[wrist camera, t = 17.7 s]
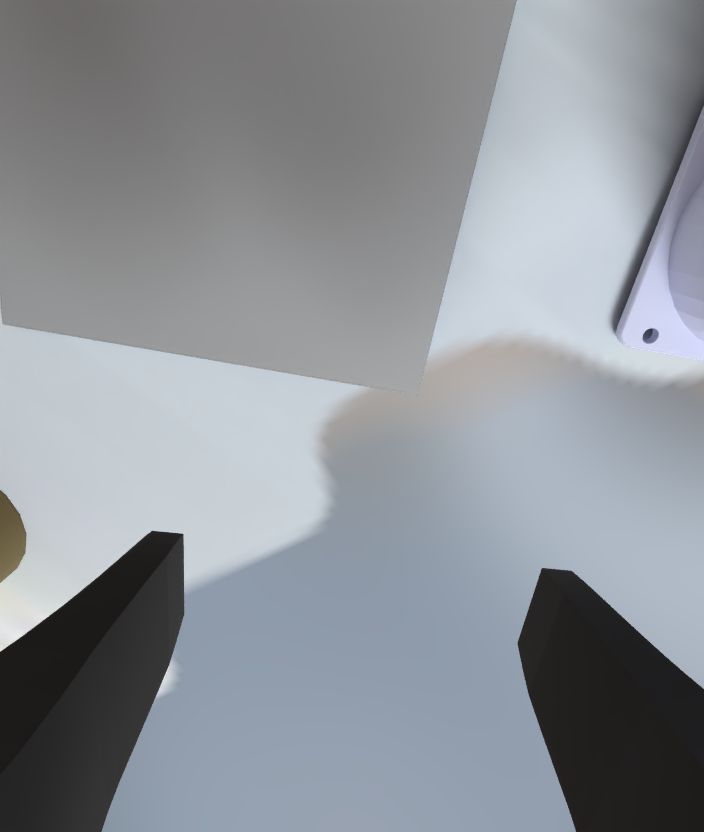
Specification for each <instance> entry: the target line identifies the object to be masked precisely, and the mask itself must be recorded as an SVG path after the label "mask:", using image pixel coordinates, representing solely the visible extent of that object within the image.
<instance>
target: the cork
mask: <svg viewBox="0 0 704 832" xmlns="http://www.w3.org/2000/svg"><path fill="white" fill-rule="evenodd" d="M25 547H26V532H25V529H24V526H23V523H22V520H21V517H20V515H19V513H18V512H17V510H16V509H15V508H14V506H13V505H12V503H11V502H10V501H9V499H8V498H7V497H6V495H5V494H3V493H2V492H1V491H0V583H1V582H2V581H3V580H4V579H5V578H6V577H7V576H9V575H10V574H11V573H12V572H13V571H14V570H15V569H17V567H18V565H19V563H20V562H21V560H22V558H23V556H24V554H25Z"/></svg>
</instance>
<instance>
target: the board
mask: <svg viewBox="0 0 704 832" xmlns="http://www.w3.org/2000/svg"><path fill="white" fill-rule="evenodd" d="M516 1H517V0H0V297H1V309H2V322H3V324H4V325H10V326H16V327H22V328H27V329H33V330H39V331H45V332H51V333H57V334H62V335H68V336H74V337H80V338H86V339H91V340H97V341H103V342H109V343H115V344H121V345H126V346H132V347H138V348H144V349H150V350H156V351H161V352H167V353H173V354H179V355H185V356H191V357H196V358H202V359H208V360H214V361H220V362H226V363H231V364H237V365H243V366H249V367H255V368H261V369H266V370H272V371H278V372H284V373H290V374H296V375H301V376H307V377H313V378H319V379H325V380H330V381H336V382H342V383H348V384H354V385H360V386H365V387H371V388H377V389H383V390H389V391H395V392H401V393H406V394H413V395H418V392H419V388H420V384H421V380H422V376H423V372H424V368H425V364H426V360H427V356H428V352H429V348H430V344H431V341H432V337H433V333H434V329H435V325H436V321H437V317H438V313H439V309H440V305H441V301H442V297H443V293H444V289H445V285H446V281H447V277H448V273H449V269H450V265H451V261H452V257H453V253H454V249H455V245H456V241H457V237H458V233H459V229H460V225H461V221H462V217H463V213H464V209H465V205H466V201H467V197H468V193H469V189H470V185H471V181H472V177H473V173H474V169H475V165H476V161H477V157H478V153H479V149H480V145H481V141H482V137H483V133H484V129H485V125H486V121H487V117H488V113H489V109H490V105H491V101H492V97H493V93H494V89H495V85H496V81H497V77H498V73H499V69H500V65H501V61H502V57H503V53H504V49H505V45H506V41H507V37H508V33H509V29H510V25H511V21H512V17H513V13H514V9H515V5H516Z"/></svg>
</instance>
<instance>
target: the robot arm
mask: <svg viewBox="0 0 704 832" xmlns="http://www.w3.org/2000/svg"><path fill="white" fill-rule="evenodd" d="M649 328H652V329H653V332H652V335H651V337H650V338H648V339H647V340H643V339H642V337H643V334H644V332H645V331H646V330H648V329H649ZM616 336H617V339H618V340H619V341H620V343H622V344H623V345H625V346H628V347H630V348H636V349H641V350H647V351H652V352H658V353H663V354H669V355H674V356H679V357H685V358H690V359H696V360H701V361H704V106H703V109H702V111H701V114H700V116H699V119H698V121H697V124H696V127H695V129H694V132H693V134H692V137H691V139H690V142H689V144H688V147H687V150H686V152H685V155H684V157H683V160H682V162H681V165H680V168H679V170H678V173H677V175H676V178H675V180H674V183H673V186H672V188H671V191H670V193H669V196H668V198H667V201H666V203H665V206H664V209H663V211H662V214H661V216H660V219H659V221H658V224H657V227H656V229H655V232H654V234H653V237H652V239H651V242H650V245H649V247H648V250H647V252H646V255H645V257H644V260H643V262H642V265H641V268H640V270H639V273H638V275H637V278H636V280H635V283H634V286H633V288H632V291H631V293H630V296H629V298H628V301H627V304H626V306H625V309H624V311H623V314H622V316H621V319H620V322H619V324H618V327H617V331H616ZM183 616H184V545H183V534H179V533H169V532H158V531H151V532H150V533H149V534H147V535H146V536H145V537H144V538H143V539H141V540H140V541H139V542H138V543H137V544H136V545H135V546H133V547H132V548H131V549H130V550H129V551H128V552H127V553H125V554H124V555H123V556H122V557H121V558H120V559H119V560H117V561H116V562H115V563H114V564H113V565H112V566H110V567H109V568H108V569H107V570H106V571H105V572H103V573H102V574H101V575H100V576H99V577H98V578H96V579H95V580H94V581H93V582H91V583H90V584H89V585H88V586H87V587H85V588H84V589H83V590H82V591H80V592H79V593H78V594H77V595H76V596H74V597H73V598H72V599H71V600H70V601H68V602H67V603H66V604H64V605H63V606H62V607H61V608H59V609H58V610H57V611H55V612H54V613H53V614H51V615H50V616H49V617H47V618H46V619H45V620H43V621H42V622H41V623H39V624H38V625H37V626H35V627H34V628H33V629H31V630H30V631H29V632H27V633H26V634H25V635H23V636H22V637H21V638H19V639H18V640H16V641H15V642H14V643H12V644H11V645H9V646H8V647H6V648H5V649H4V650H2V651H1V652H0V832H101V831H102V828H103V825H104V822H105V819H106V816H107V813H108V810H109V808H110V805H111V802H112V800H113V797H114V794H115V792H116V789H117V787H118V784H119V781H120V779H121V777H122V774H123V772H124V770H125V767H126V765H127V762H128V760H129V758H130V756H131V753H132V751H133V749H134V746H135V744H136V742H137V739H138V737H139V735H140V732H141V730H142V728H143V725H144V723H145V720H146V718H147V716H148V713H149V711H150V709H151V707H152V704H153V702H154V699H155V697H156V695H157V692H158V690H159V688H160V685H161V683H162V680H163V678H164V676H165V673H166V671H167V668H168V666H169V663H170V660H171V657H172V654H173V650H174V647H175V644H176V641H177V637H178V633H179V630H180V627H181V623H182V619H183ZM518 648H519V652H520V658H521V662H522V667H523V672H524V676H525V680H526V685H527V689H528V693H529V697H530V700H531V703H532V705H533V708H534V711H535V714H536V717H537V720H538V723H539V726H540V729H541V732H542V735H543V737H544V740H545V743H546V746H547V749H548V751H549V754H550V757H551V760H552V763H553V766H554V768H555V771H556V774H557V777H558V780H559V782H560V785H561V788H562V791H563V794H564V797H565V799H566V802H567V805H568V808H569V811H570V814H571V817H572V820H573V823H574V826H575V829H576V832H704V689H703V688H702V687H701V686H699V685H698V684H697V683H696V682H694V681H693V680H692V679H691V678H689V676H687V675H686V674H685V673H684V672H683V671H681V670H680V669H679V668H678V667H677V666H676V665H675V664H673V663H672V662H671V661H670V660H669V659H668V658H667V657H665V656H664V655H663V654H662V653H661V652H660V651H659V650H658V649H657V648H655V647H654V646H653V645H652V644H651V643H650V642H649V641H648V640H647V639H645V638H644V637H643V636H642V635H641V634H640V633H639V632H638V631H637V630H636V629H635V628H634V627H632V626H631V625H630V624H629V623H628V622H627V621H626V620H625V619H624V618H623V617H622V616H621V615H619V614H618V613H617V612H616V611H615V610H614V609H613V608H612V607H611V606H610V605H609V604H608V603H607V602H606V601H605V600H603V599H602V598H601V597H600V596H599V595H598V594H597V593H596V592H595V591H594V590H593V589H592V588H591V587H589V586H588V585H587V584H586V583H585V582H584V581H583V580H581V579H580V578H579V577H578V576H577V575H576V574H574V573H573V572H572V571H567V570H556V569H546V568H542V570H541V573H540V576H539V579H538V582H537V585H536V588H535V591H534V594H533V598H532V600H531V603H530V607H529V610H528V613H527V616H526V619H525V622H524V625H523V628H522V631H521V634H520V637H519V641H518Z"/></svg>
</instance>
